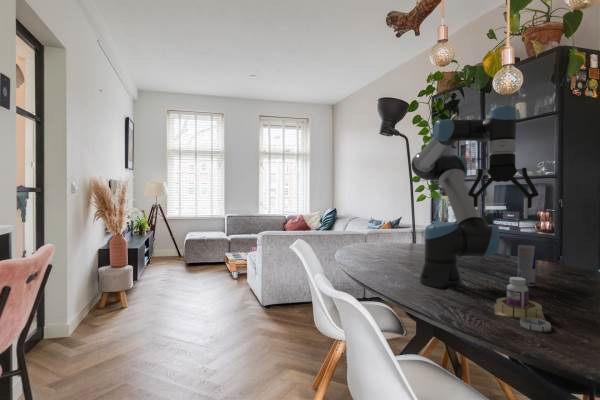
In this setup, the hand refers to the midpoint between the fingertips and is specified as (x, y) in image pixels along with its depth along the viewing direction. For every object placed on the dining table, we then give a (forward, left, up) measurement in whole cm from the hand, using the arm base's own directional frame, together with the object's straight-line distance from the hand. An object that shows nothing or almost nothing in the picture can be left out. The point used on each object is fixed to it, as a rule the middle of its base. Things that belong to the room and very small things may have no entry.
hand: (501, 217), depth 118 cm
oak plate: (+4, -17, -27) cm, 32 cm away
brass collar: (+4, -17, -26) cm, 31 cm away
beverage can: (+9, +23, -27) cm, 37 cm away
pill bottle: (+4, -17, -26) cm, 31 cm away
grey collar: (+7, -28, -27) cm, 39 cm away
